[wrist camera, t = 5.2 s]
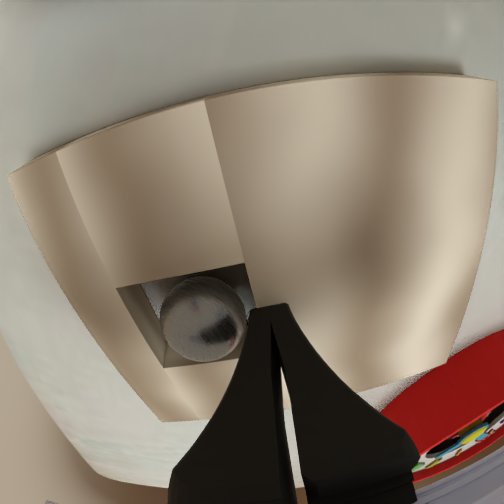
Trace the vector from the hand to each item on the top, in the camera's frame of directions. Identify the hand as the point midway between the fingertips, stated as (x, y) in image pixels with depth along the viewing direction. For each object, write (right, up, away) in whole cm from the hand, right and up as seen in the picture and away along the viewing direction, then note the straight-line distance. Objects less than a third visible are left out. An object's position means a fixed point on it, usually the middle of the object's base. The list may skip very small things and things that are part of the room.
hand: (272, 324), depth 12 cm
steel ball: (-3, 0, +1) cm, 3 cm away
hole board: (+1, +2, +2) cm, 3 cm away
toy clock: (+20, -12, +13) cm, 26 cm away
